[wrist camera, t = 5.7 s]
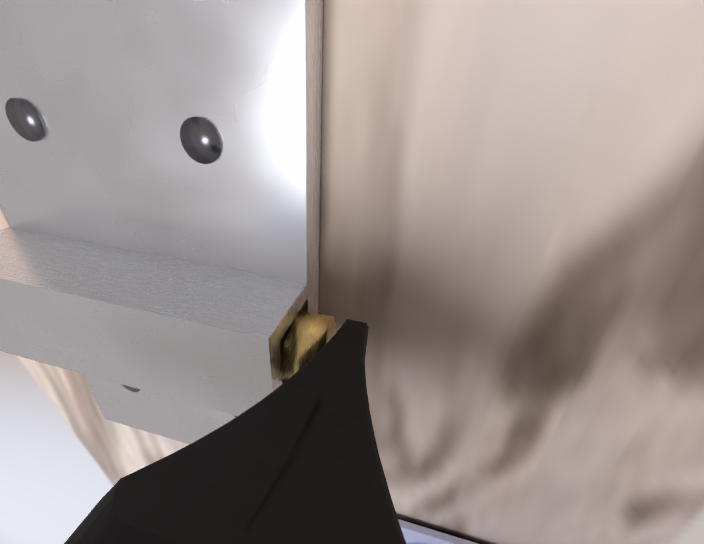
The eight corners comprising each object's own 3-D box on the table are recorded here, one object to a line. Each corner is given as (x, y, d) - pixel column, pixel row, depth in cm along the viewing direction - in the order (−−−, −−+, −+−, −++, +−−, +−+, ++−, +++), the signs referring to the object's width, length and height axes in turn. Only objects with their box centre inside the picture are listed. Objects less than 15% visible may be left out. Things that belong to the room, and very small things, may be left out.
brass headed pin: (337, 302, 11) (313, 350, 9) (334, 354, 12) (313, 406, 10) (21, 240, 13) (-54, 267, 11) (44, 288, 14) (-19, 320, 12)
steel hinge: (323, -41, 7) (228, -142, 4) (315, 456, 17) (285, 543, 14) (-71, -44, 10) (-345, -114, 6) (122, 401, 19) (56, 466, 16)
